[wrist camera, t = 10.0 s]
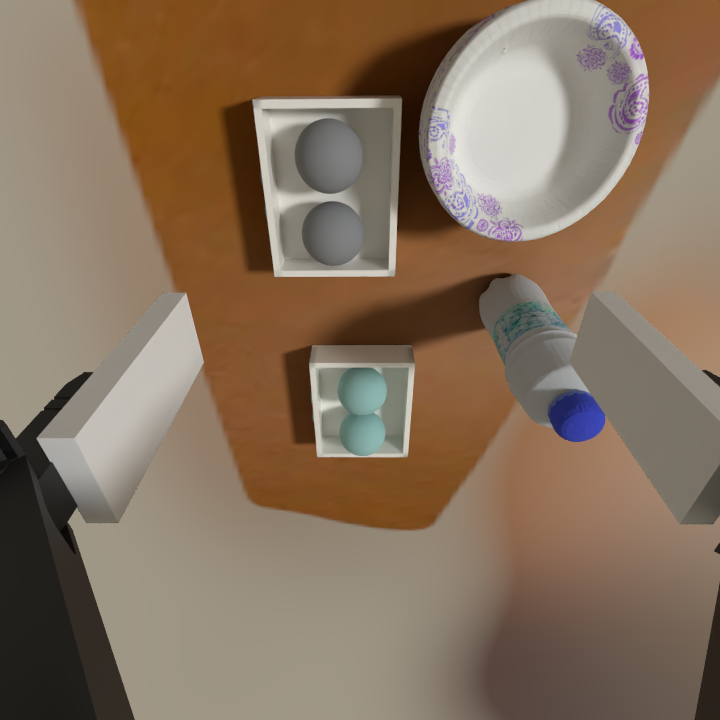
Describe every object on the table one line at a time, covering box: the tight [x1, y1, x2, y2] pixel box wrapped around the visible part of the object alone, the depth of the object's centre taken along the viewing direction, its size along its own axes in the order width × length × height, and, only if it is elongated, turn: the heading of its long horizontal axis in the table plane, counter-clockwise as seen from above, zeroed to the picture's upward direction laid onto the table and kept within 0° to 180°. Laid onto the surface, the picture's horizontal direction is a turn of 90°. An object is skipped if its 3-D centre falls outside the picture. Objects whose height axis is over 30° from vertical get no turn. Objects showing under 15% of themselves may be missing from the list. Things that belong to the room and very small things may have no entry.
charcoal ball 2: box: [302, 201, 364, 266], centre depth 39 cm, size 6×6×6 cm
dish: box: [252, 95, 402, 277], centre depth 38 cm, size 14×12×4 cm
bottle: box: [479, 274, 605, 442], centre depth 37 cm, size 7×7×20 cm
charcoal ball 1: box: [295, 118, 363, 194], centre depth 35 cm, size 6×6×6 cm
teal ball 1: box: [337, 368, 387, 415], centre depth 49 cm, size 6×6×6 cm
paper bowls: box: [419, 0, 649, 242], centre depth 33 cm, size 15×15×8 cm
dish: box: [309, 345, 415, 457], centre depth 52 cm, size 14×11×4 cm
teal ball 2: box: [339, 413, 385, 456], centre depth 52 cm, size 6×6×6 cm
